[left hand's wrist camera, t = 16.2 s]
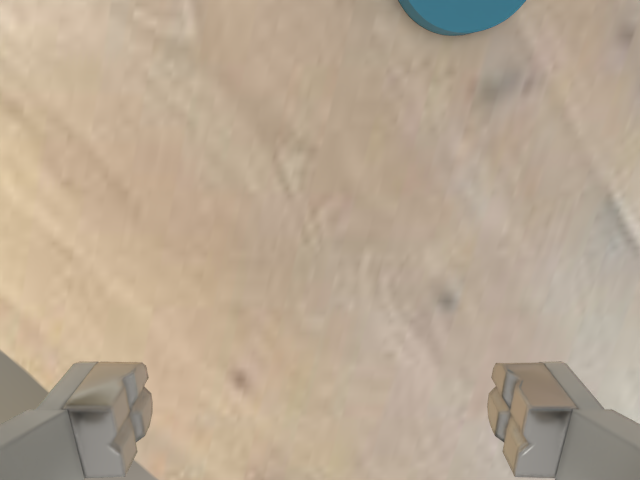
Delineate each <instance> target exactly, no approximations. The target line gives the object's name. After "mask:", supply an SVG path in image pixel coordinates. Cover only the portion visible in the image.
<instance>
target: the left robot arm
mask: <svg viewBox="0 0 640 480" xmlns="http://www.w3.org/2000/svg"><path fill="white" fill-rule="evenodd" d="M147 380H148V373H147V368H146V365H144V364H143V363H138V362H77V363H75V364H73V365H72V366H71V367H70V369H69V370H68V371H67V372H66V373H65V375H64V376H63V377H62V378H61V379H60V380H59V382H58V383H57V384H56V385H55V386H54V388H53V389H52V390H51V391H50V392H49V394H48V395H47V396H46V397H45V398H44V399H43V401H42V402H41V403H40V404H39V405H38V407H37V408H36V409H34V410H26V411H24V412H22V413H21V414H19V415H17V416H15V417H13V418H11V419H9V420H7V421H5V422H4V423H2V424H0V480H85V478H103V477H125V476H126V474H127V472H128V470H129V468H130V466H131V464H132V462H133V460H134V458H135V456H136V453H137V447H136V442H137V441H139V440H140V439H141V438H143V437H144V436H145V435H146V432H147V430H148V428H149V426H150V421H151V417H152V396H151V393H150V392H149V391H148V390H147V389H146V388H145V387H144V385H145V383H146V381H147ZM492 380H493V381H494V383H495V385H496V387H495V388H494V389H493V390H492V391H491V392H490V393H489V396H488V404H487V408H488V418H489V422H490V425H491V428H492V430H493V432H494V435H495V436H496V437H497V438H499V439H500V440H502V441H503V442H504V447H503V453H504V456H505V458H506V460H507V462H508V464H509V466H510V468H511V470H512V472H513V474H514V476H515V477H536V478H555V480H640V424H638V423H636V422H634V421H633V420H631V419H629V418H627V417H625V416H623V415H621V414H619V413H618V412H616V411H614V410H606V409H604V408H603V407H602V405H601V404H600V403H599V402H598V401H597V399H596V398H595V397H594V396H593V395H592V394H591V392H590V391H589V390H588V389H587V388H586V386H585V385H584V384H583V383H582V382H581V381H580V379H579V378H578V377H577V376H576V375H575V373H574V372H573V371H572V370H571V369H570V368H569V366H568V365H567V364H565V363H563V362H561V361H556V362H539V363H496V364H495V366H494V368H493V372H492Z"/></svg>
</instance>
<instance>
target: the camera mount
mask: <svg viewBox="0 0 640 480" xmlns="http://www.w3.org/2000/svg"><path fill="white" fill-rule="evenodd" d="M398 1H399V2H400V4H401V6H402V7H403V9H404V10H405V12H406V13H407V14H408V15H409V16H410V17H411V18H412V19H413V20H414V21H415V22H416V23H417V24H419V25H420V26H422V27H423V28H425V29H427V30H429V31H432V32H434V33H438V34H442V35H450V36H456V35H465V34H469V33H474V32H478V31H482V30H486V29H488V28H491V27H493V26H496V25H498V24H500V23H501V22H503V21H505V20H506V19H508V18H509V17H510V16H511V15H513V14H514V13H515V12H516V11H517V10H518V9H519V8H520V7H521V6H522V5H523V3H524V2H525V1H526V0H398Z"/></svg>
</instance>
